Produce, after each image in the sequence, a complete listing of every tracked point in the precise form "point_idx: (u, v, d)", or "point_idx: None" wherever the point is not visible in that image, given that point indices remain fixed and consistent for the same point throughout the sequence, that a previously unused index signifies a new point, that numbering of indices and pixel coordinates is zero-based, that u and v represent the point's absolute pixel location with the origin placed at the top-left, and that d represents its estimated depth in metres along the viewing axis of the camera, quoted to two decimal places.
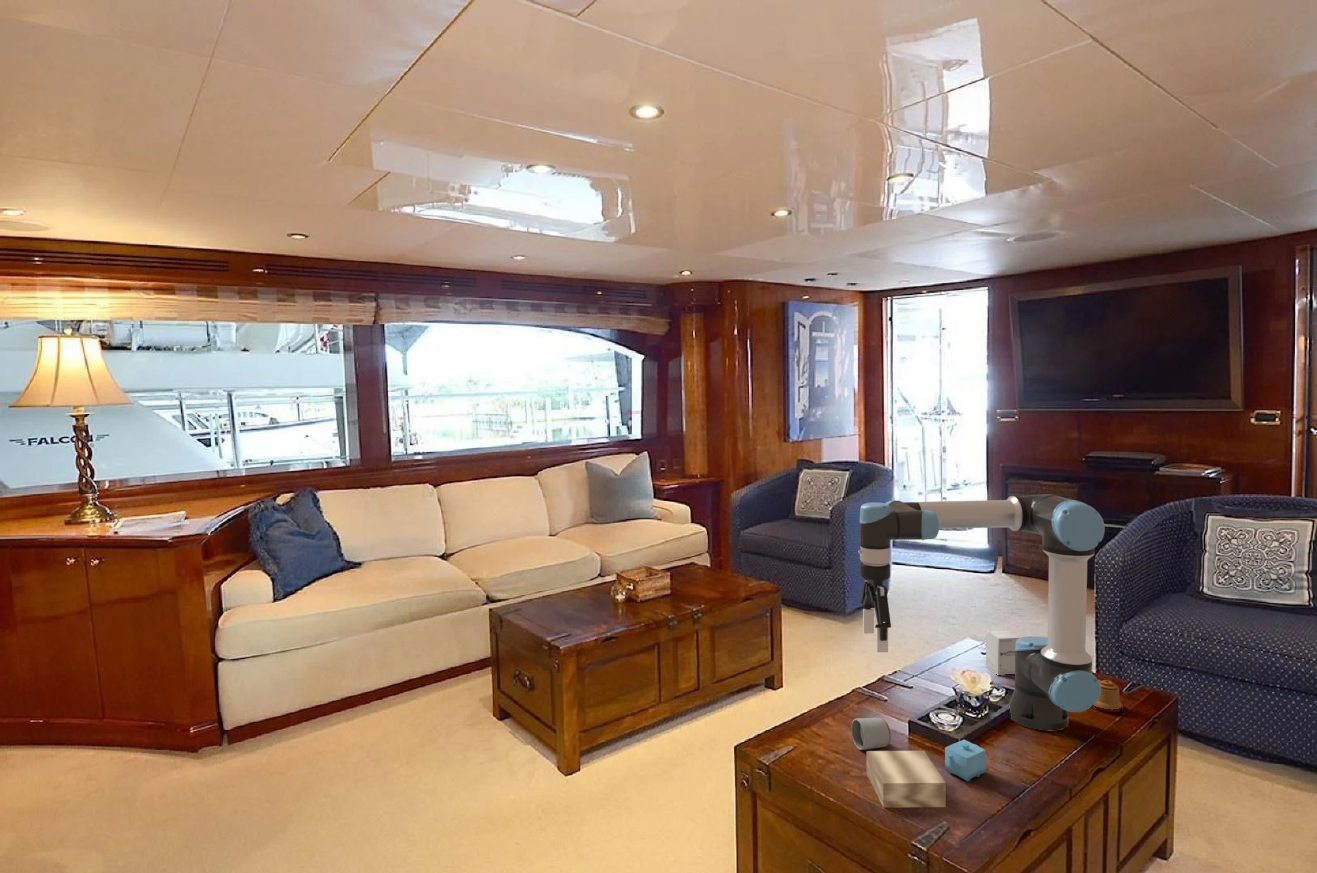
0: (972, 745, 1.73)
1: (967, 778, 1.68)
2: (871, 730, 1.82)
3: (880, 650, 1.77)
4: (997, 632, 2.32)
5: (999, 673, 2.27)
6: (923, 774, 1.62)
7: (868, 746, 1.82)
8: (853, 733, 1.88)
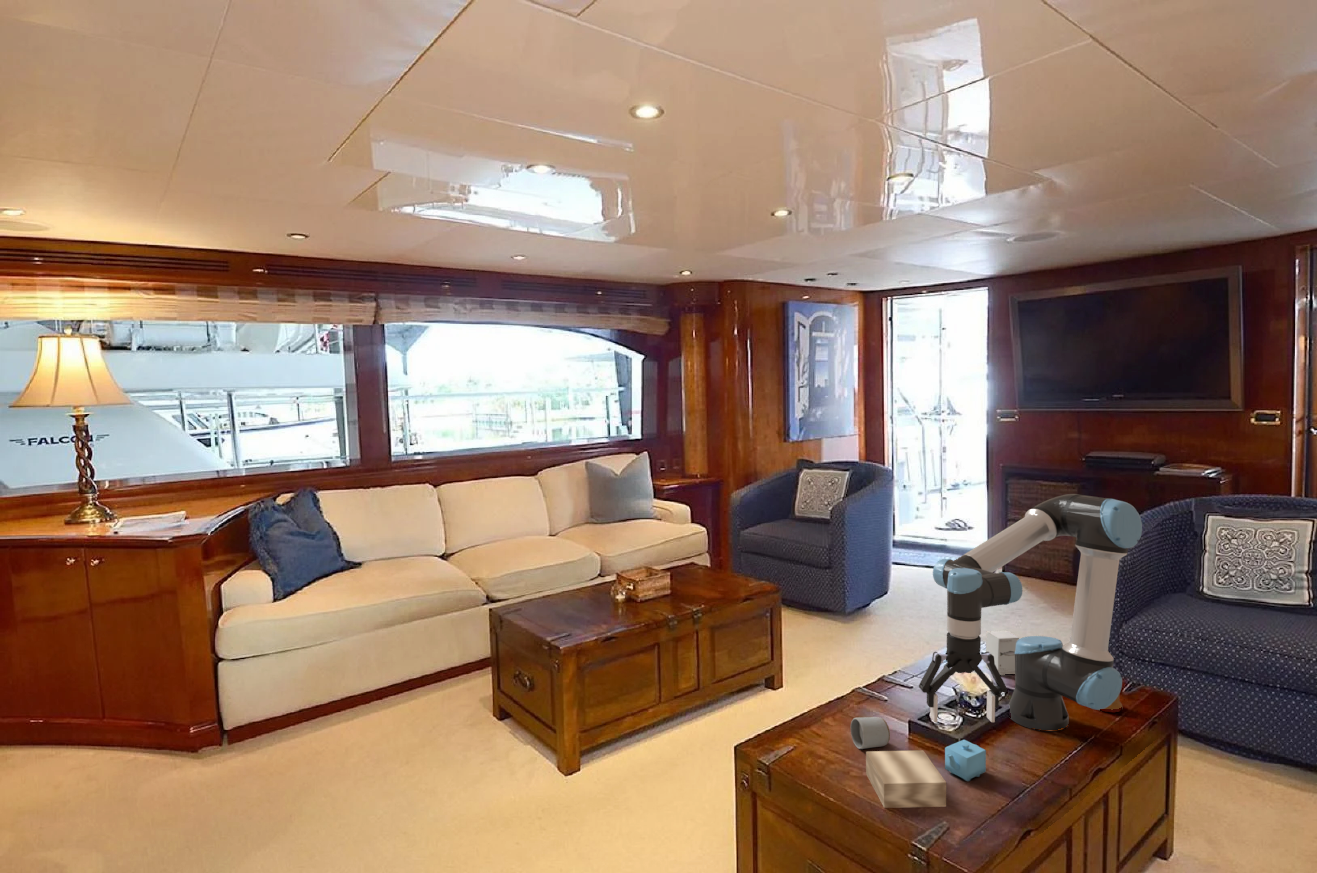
0: (972, 745, 1.73)
1: (967, 778, 1.68)
2: (870, 729, 1.83)
3: (931, 716, 1.71)
4: (997, 632, 2.32)
5: (999, 673, 2.27)
6: (923, 774, 1.62)
7: (867, 745, 1.82)
8: (852, 732, 1.89)
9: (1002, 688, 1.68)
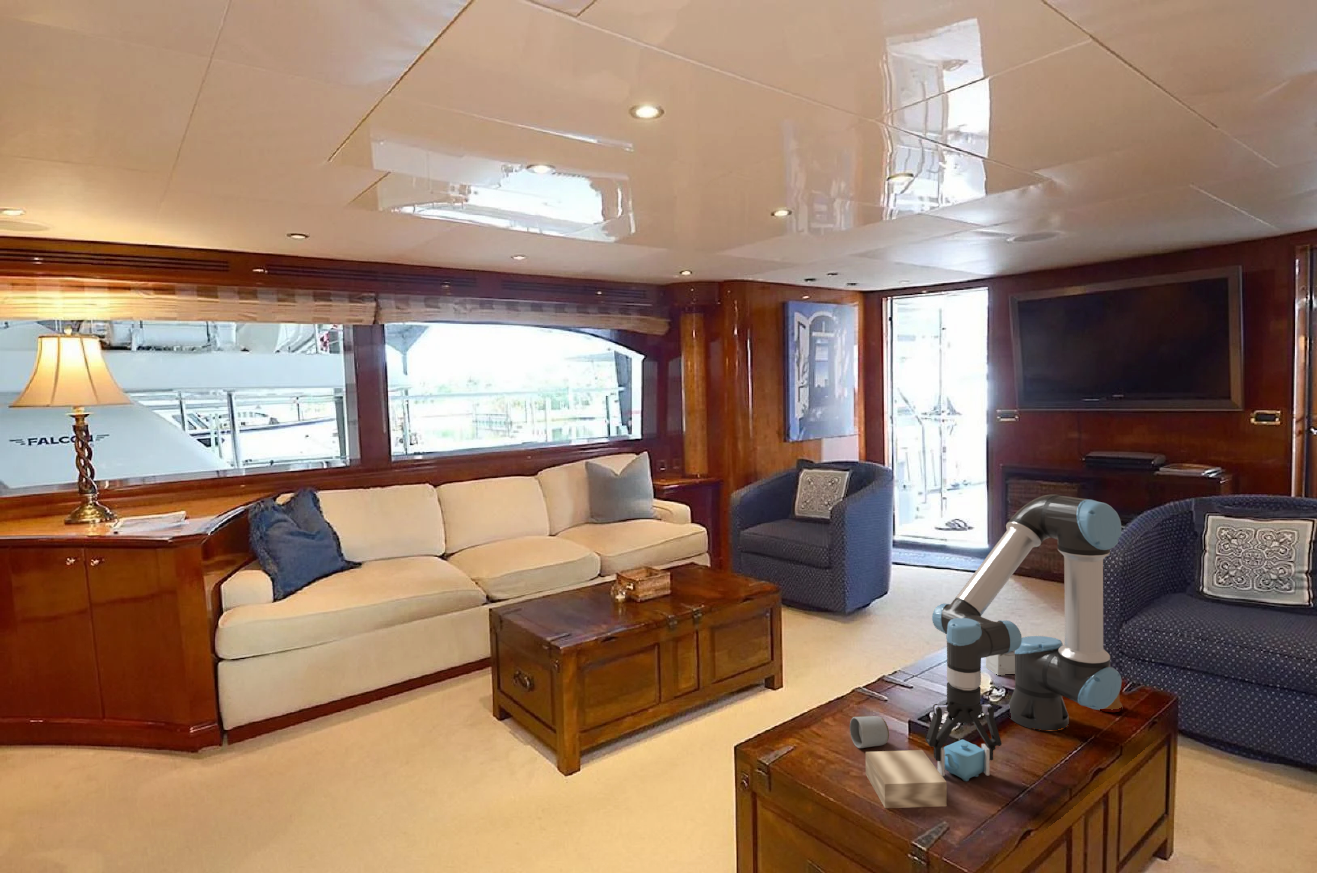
0: (971, 745, 1.73)
1: (966, 778, 1.68)
2: (869, 728, 1.83)
3: (938, 769, 1.72)
4: None
5: (999, 673, 2.27)
6: (924, 774, 1.62)
7: (866, 744, 1.83)
8: (852, 731, 1.89)
9: (997, 741, 1.69)
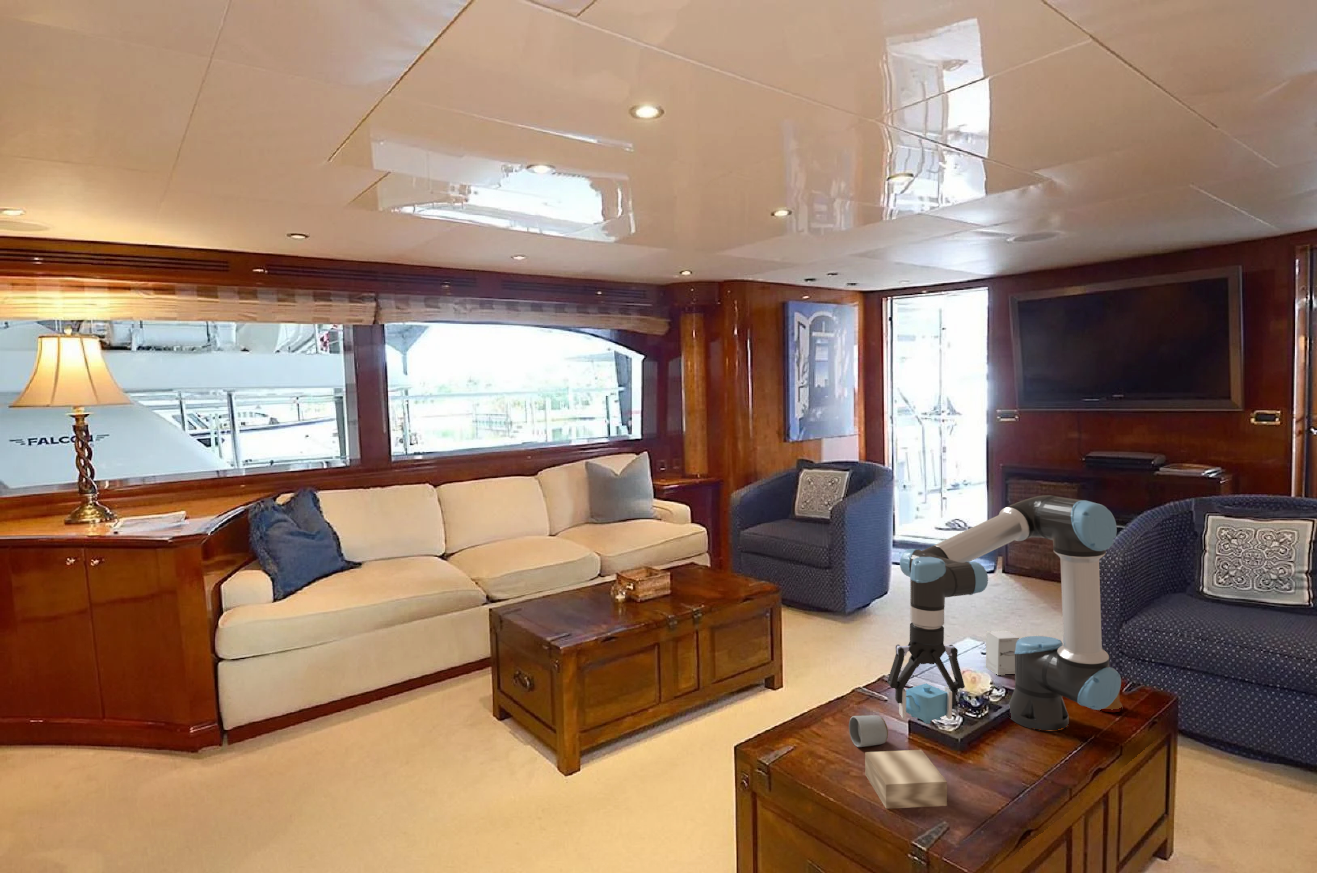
0: (934, 688, 1.68)
1: (927, 720, 1.63)
2: (868, 727, 1.84)
3: (900, 712, 1.67)
4: (997, 632, 2.32)
5: (999, 673, 2.27)
6: (924, 774, 1.62)
7: (865, 743, 1.83)
8: (851, 730, 1.90)
9: (960, 683, 1.65)
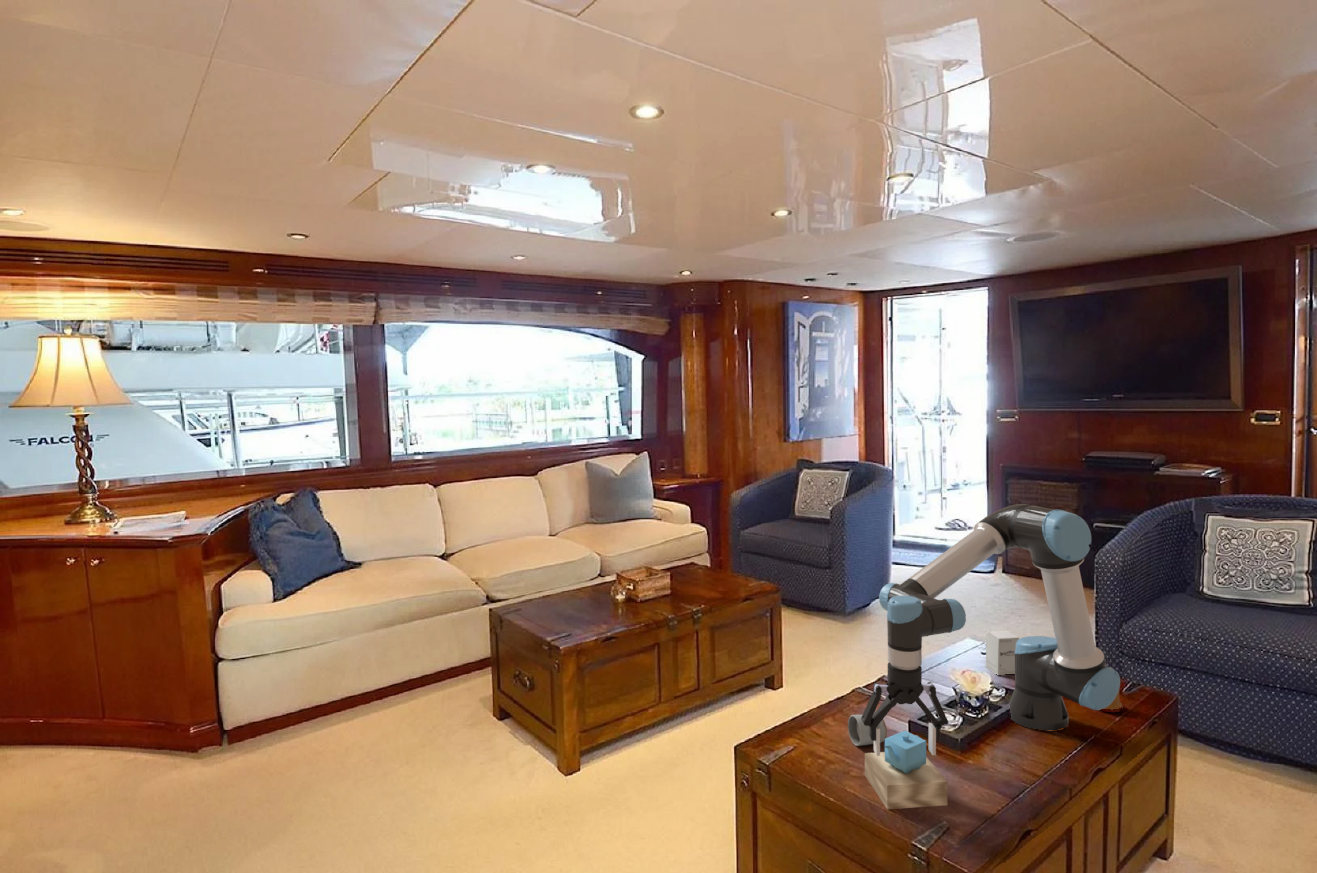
0: (913, 736, 1.67)
1: (906, 770, 1.61)
2: (867, 726, 1.84)
3: (874, 749, 1.66)
4: (997, 632, 2.32)
5: (999, 673, 2.27)
6: (924, 774, 1.62)
7: (864, 742, 1.84)
8: (850, 729, 1.90)
9: (943, 720, 1.63)
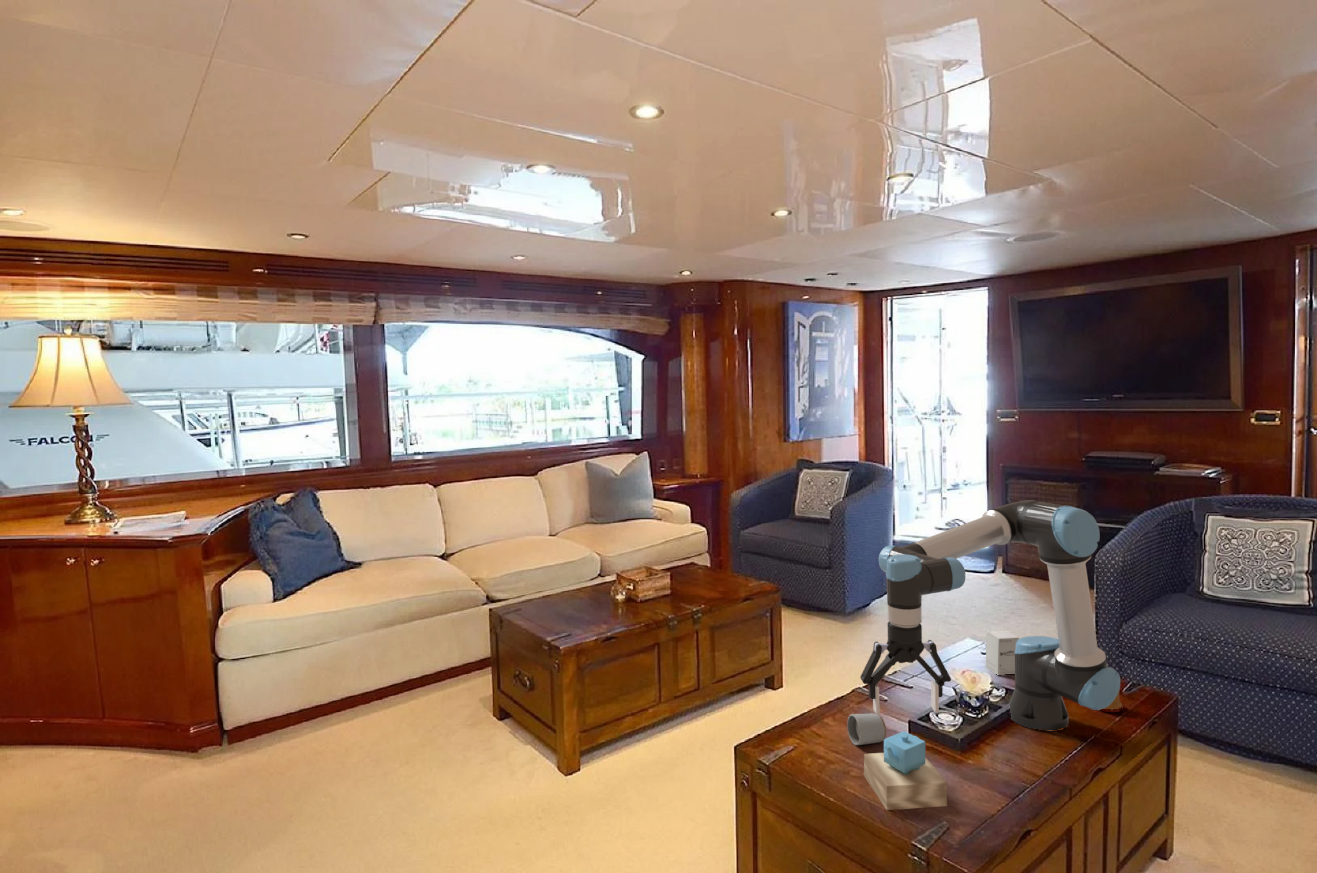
0: (912, 737, 1.67)
1: (905, 771, 1.61)
2: (867, 725, 1.85)
3: (874, 708, 1.65)
4: (997, 632, 2.32)
5: (999, 673, 2.27)
6: (924, 775, 1.62)
7: (864, 741, 1.84)
8: (849, 729, 1.91)
9: (945, 677, 1.63)
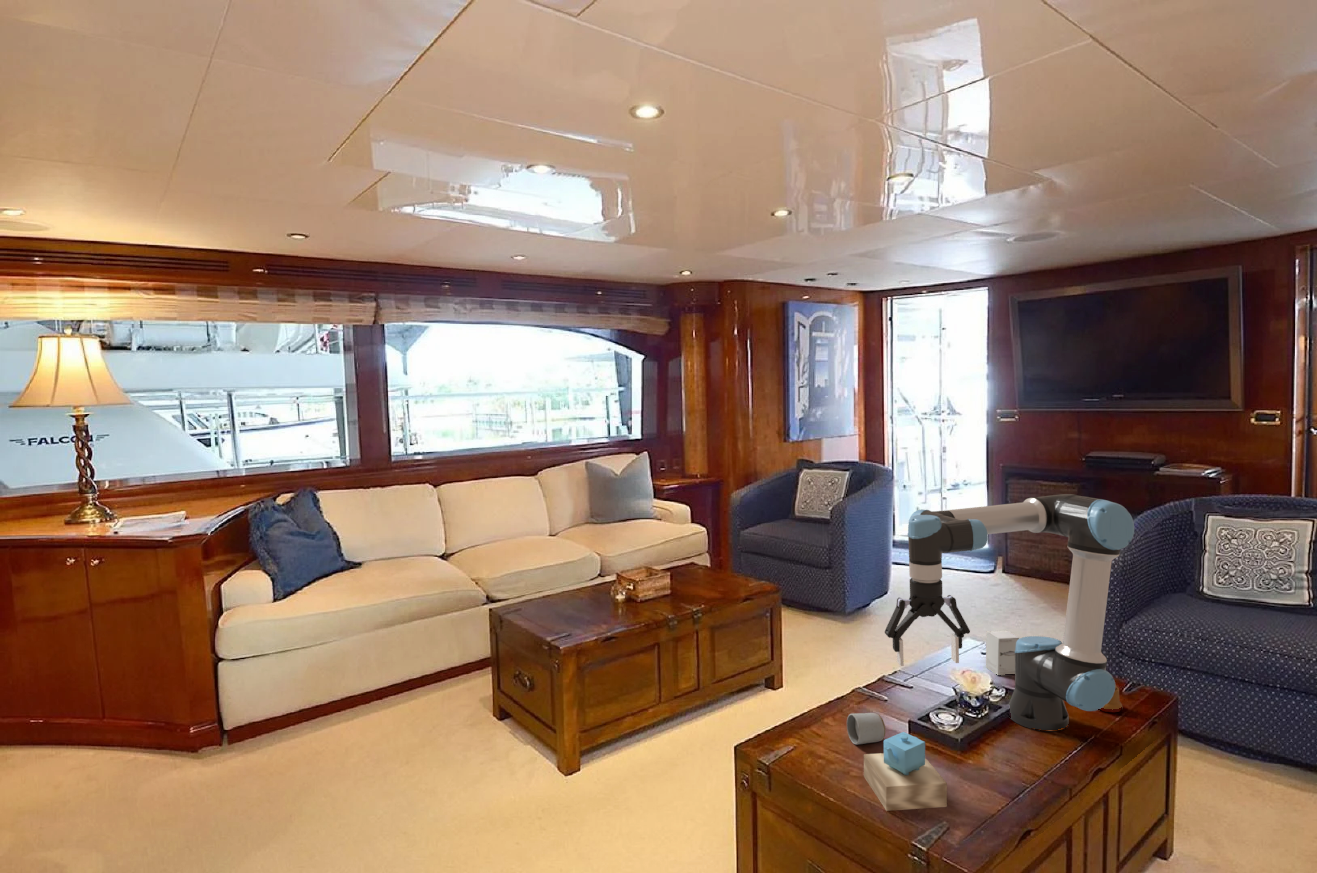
0: (911, 737, 1.66)
1: (905, 772, 1.61)
2: (866, 725, 1.85)
3: (897, 660, 1.75)
4: (997, 632, 2.32)
5: (999, 673, 2.27)
6: (923, 775, 1.62)
7: (863, 741, 1.85)
8: (848, 728, 1.91)
9: (965, 629, 1.73)
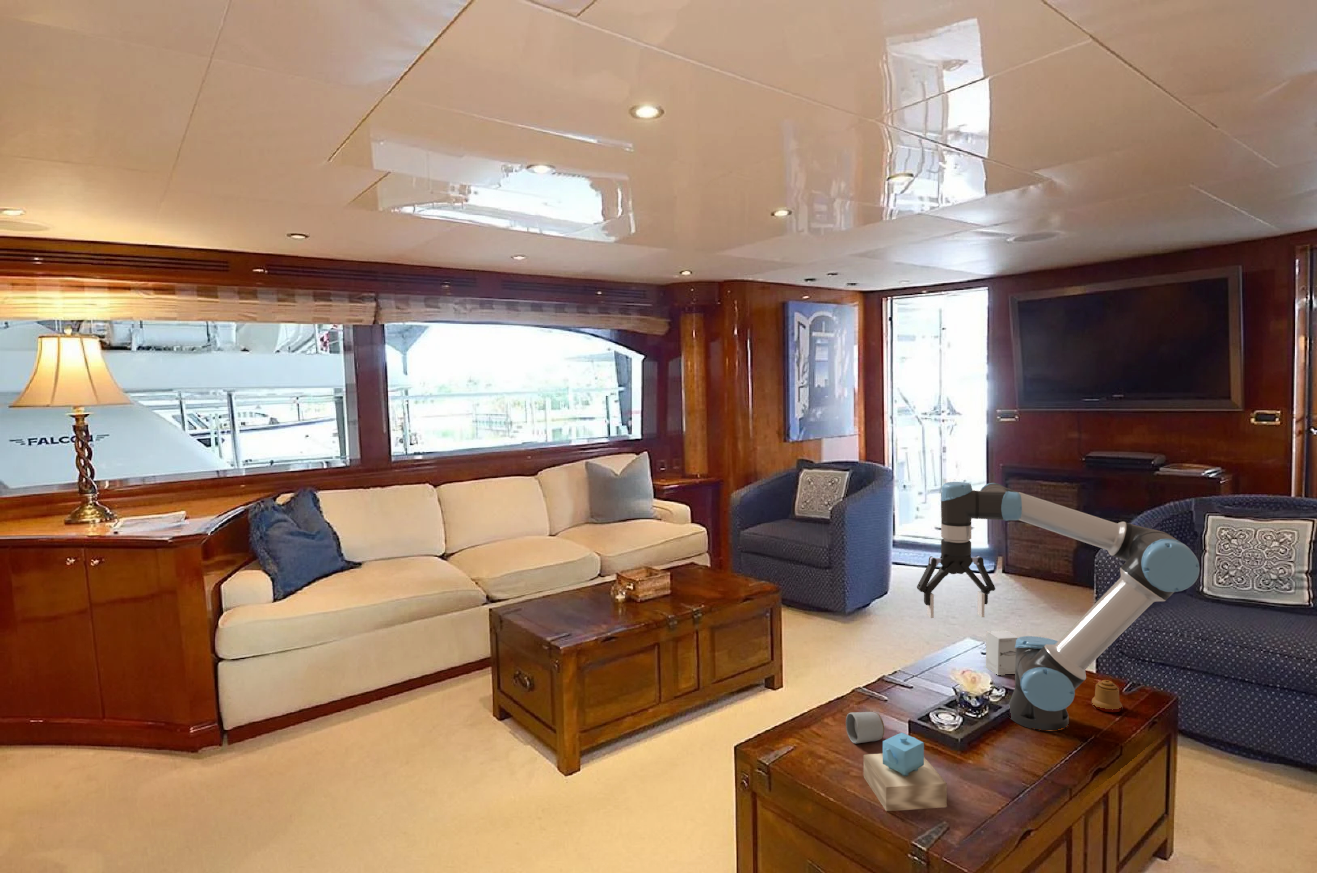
0: (910, 738, 1.66)
1: (905, 772, 1.60)
2: (865, 724, 1.86)
3: (928, 613, 1.93)
4: (997, 632, 2.32)
5: (999, 673, 2.27)
6: (923, 775, 1.62)
7: (862, 739, 1.85)
8: (847, 727, 1.92)
9: (991, 587, 1.90)
